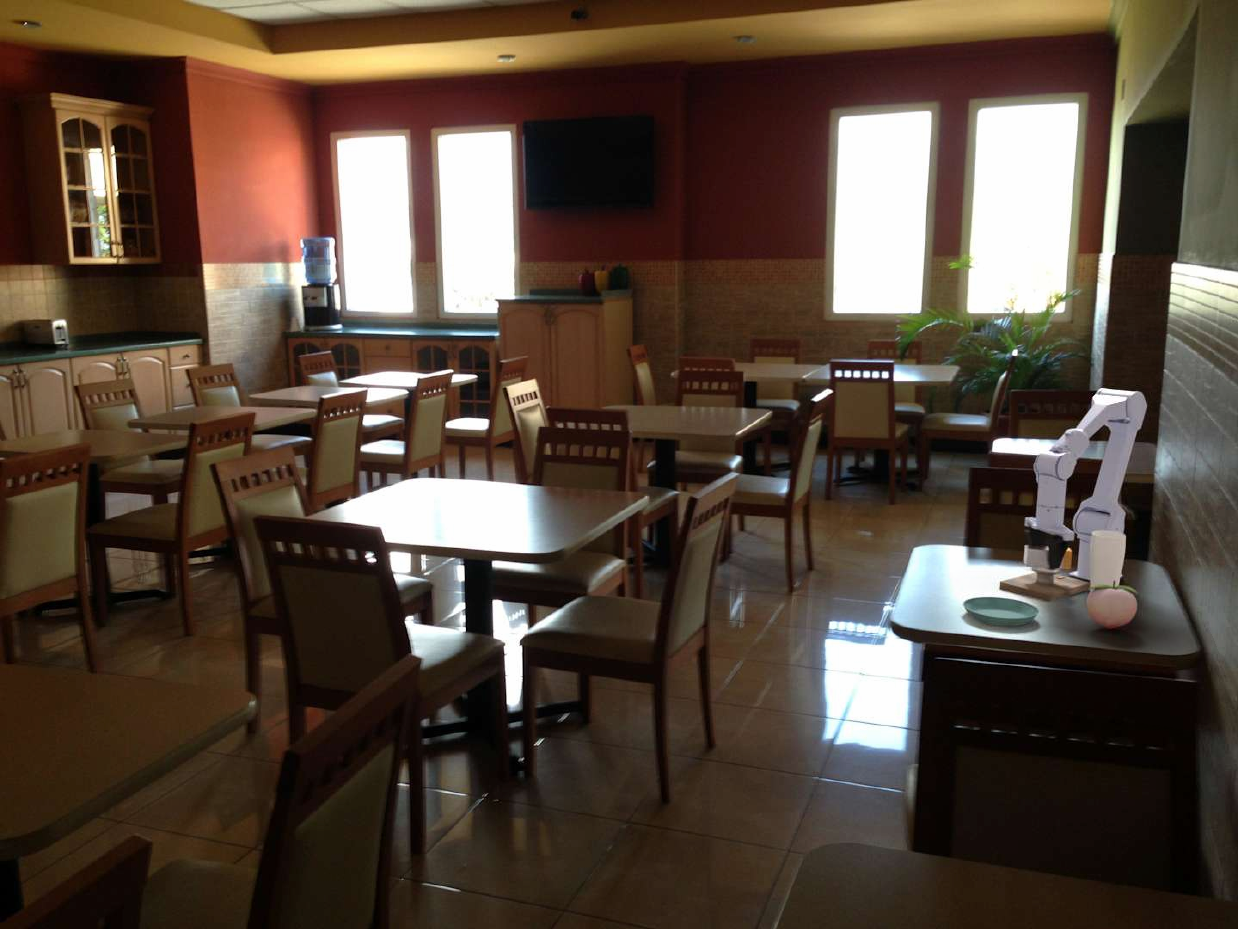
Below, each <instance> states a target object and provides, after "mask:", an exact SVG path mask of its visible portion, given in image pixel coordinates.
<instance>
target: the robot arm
mask: <svg viewBox="0 0 1238 929" xmlns="http://www.w3.org/2000/svg"><path fill="white" fill-rule="evenodd" d="M1090 404H1091V408H1090V409H1089V410H1088V411H1087V413H1086V414H1085V415H1084V417H1083V418H1082V420H1081V421H1080V422H1079V423H1078V425H1077V426H1076V428H1070V429H1067V430H1066V431H1065V432H1064V433H1063V435H1061V436H1060V438H1059V439H1057V441H1056V442H1054V444H1053V445H1052V446H1051V448H1050V449H1049V450H1044V451H1043V452H1040V453H1039V454H1038V455H1037V456H1036V458H1035V461H1034V463H1033V470H1034V473H1035V476H1036V478H1035V481H1036V483H1037V484H1038V485H1037V499H1036V509H1035V510H1036V511H1035V517H1033V516H1031V517H1025V518H1024V526H1025V527H1027V528H1028V527H1029V528H1028V529H1024V535H1025V537H1026V538H1027V541H1028V544H1029V545H1030V546H1048V548H1049V566H1050V568H1052V569H1054V568H1060V565H1061V562H1062V560H1063V557H1064V555H1065V553H1066V551H1067V549H1068V548H1070V546H1071V545H1072V544H1073V543H1074V540H1075V534H1076V535H1077V536H1076V537H1077V538H1078V539H1079V550H1078V560H1077V569H1076V571H1072V572H1069V576H1071V577H1074V578H1079V579H1081V580H1082V579H1083V580H1087V581H1090V545H1091V537H1092V532H1094V531H1100V530H1104V531H1114V532H1119V533H1122V534H1124V530H1125V519H1126V518H1125V517H1126V514H1127V513H1126V512H1125V510H1124V509H1123V508H1122V507H1121V505H1120V504H1119V503H1118V499H1119V495H1120V492H1121V489H1122V486H1123V483H1124V482H1123V481H1124V479H1125V474H1126V471H1127V469H1128V464H1129V461H1130V456H1131V455H1132V450H1133V448H1134V443H1135V439H1136V436H1137V432H1138V431H1139V430H1141V428H1142V425H1143V421H1144V419H1145V415H1146V412H1147V407H1148V404H1147V401H1146V398H1145V395H1144V394H1143V392H1141V391H1137V390H1136V391H1130V390H1121V389H1109V388H1104V387H1103V388H1099V389H1098V390H1097V391H1096V393H1095V394H1094V396H1092V398H1091V403H1090ZM1103 426H1107V427H1108V429H1109V430H1110V435H1109V438H1108V441H1107V445H1106V449H1105V453H1104V456H1103V459H1102V463H1101V466H1100V470H1099V473H1098V476H1097V479H1096V484H1095V487H1094V491H1093V494H1092V496H1091V497H1088V498H1087V499H1085V500H1083V501H1081V503H1080V505H1079V508H1078V509H1077V512H1076V513H1075V514H1074V515H1073V520H1072V529H1073V530H1071V529H1069V528H1068V527H1066V526H1065V525H1064V521H1065V520H1064V518H1065V506H1066V492H1067V483H1068V482H1067V481H1068V479H1069V478H1070V477H1071V476H1072V475H1073V473H1074V470H1075V466H1076V465H1077V460H1078V459H1079V458H1080V457H1081V456H1082V454H1084V452H1085V451H1086V450H1087V449H1088V448H1089V447H1090V440H1089V439H1090V438H1091V437H1092V436H1093V435H1094V434H1095V433H1097V431H1099V430H1100V429H1101V428H1102V427H1103ZM1108 513H1109V514H1108ZM1050 535H1052V536H1050ZM1046 544H1047V545H1046ZM1060 569H1061V568H1060ZM1122 577H1123V574H1121V576H1120V578H1122Z"/></svg>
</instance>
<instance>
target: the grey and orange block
mask: <svg viewBox="0 0 1238 929" xmlns="http://www.w3.org/2000/svg"><path fill="white" fill-rule="evenodd" d="M1023 552H1024V553H1023V563H1024V565H1025V567H1031V571H1032V572H1033V573H1035V572H1037V573H1041V574H1057V575H1060V574H1061V569H1062V570H1071V569H1072V559H1073V558H1072V557H1073V550H1072V548H1070V547H1069V548H1068V549H1067V551H1066V553H1065V555H1064V557H1063V560H1062V562H1061V565H1060V568H1054V569H1052V568H1050V566H1049V548H1048V545H1045V546H1030V544H1029V545H1028V544H1027V545H1026V544H1025V545H1024V551H1023Z"/></svg>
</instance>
